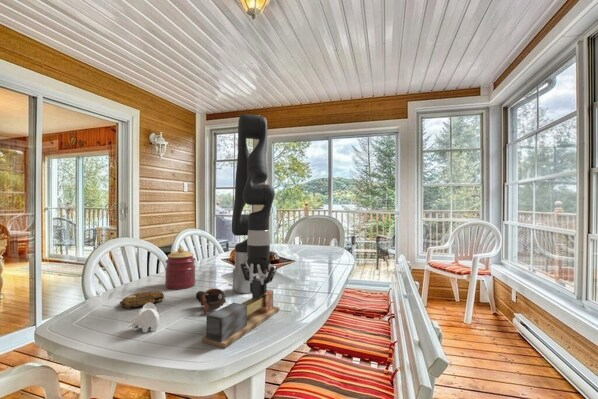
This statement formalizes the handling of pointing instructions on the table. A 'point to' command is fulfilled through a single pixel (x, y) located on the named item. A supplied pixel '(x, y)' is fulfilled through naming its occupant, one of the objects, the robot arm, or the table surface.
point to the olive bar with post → (255, 298)
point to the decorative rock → (141, 299)
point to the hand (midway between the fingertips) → (258, 293)
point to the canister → (180, 270)
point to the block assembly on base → (236, 321)
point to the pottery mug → (211, 299)
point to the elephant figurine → (146, 318)
